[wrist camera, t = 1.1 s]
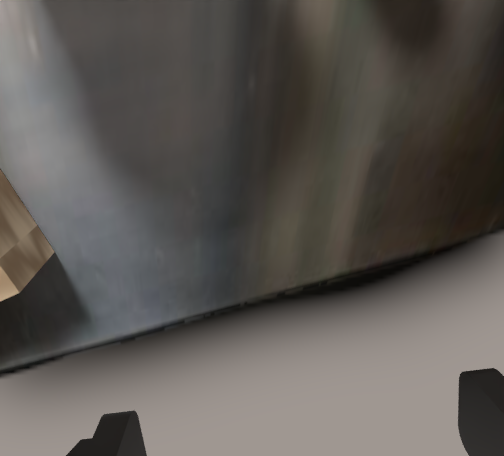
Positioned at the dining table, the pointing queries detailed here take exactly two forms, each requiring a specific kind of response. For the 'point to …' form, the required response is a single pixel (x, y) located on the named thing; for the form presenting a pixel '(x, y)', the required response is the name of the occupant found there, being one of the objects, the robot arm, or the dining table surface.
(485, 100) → the dining table surface
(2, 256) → the maple block
